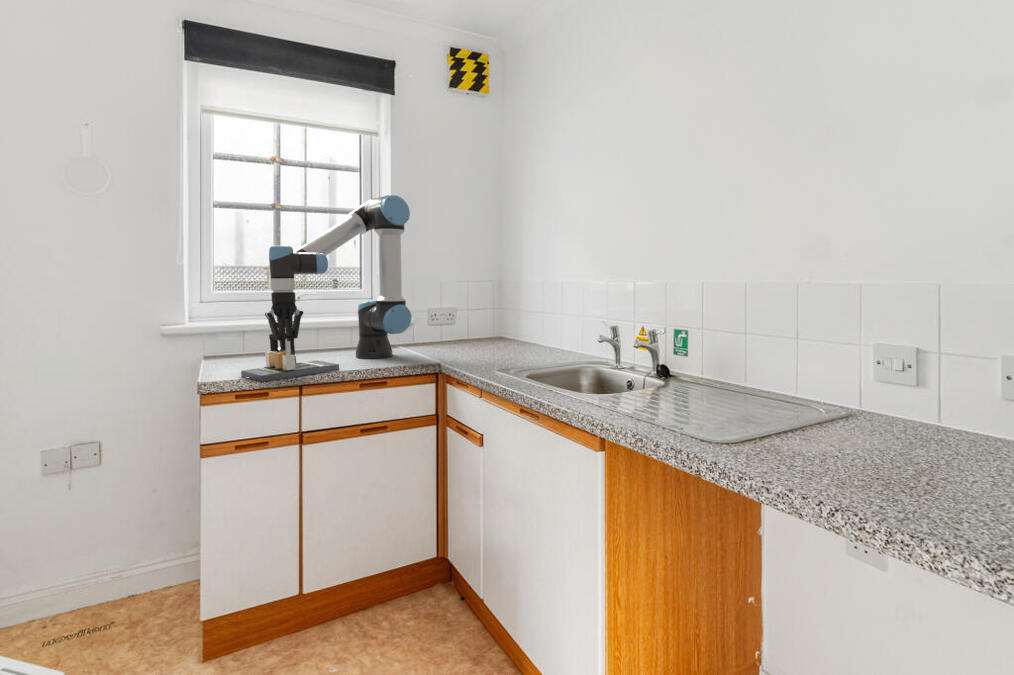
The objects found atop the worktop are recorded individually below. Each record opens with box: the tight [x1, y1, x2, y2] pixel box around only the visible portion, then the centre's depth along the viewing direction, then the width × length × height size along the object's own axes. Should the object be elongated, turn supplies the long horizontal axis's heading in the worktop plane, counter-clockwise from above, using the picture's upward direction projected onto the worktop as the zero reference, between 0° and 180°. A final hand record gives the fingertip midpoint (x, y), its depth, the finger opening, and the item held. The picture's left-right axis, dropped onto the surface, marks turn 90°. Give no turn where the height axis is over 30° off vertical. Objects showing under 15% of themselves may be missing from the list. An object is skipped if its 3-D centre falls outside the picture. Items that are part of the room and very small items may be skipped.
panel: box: [240, 350, 340, 383], centre depth 184 cm, size 28×15×8 cm, turn 140°
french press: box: [267, 319, 297, 363], centre depth 199 cm, size 12×9×23 cm
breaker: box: [274, 352, 287, 368], centre depth 181 cm, size 3×2×5 cm
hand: (287, 359), depth 183 cm, fingers closed
